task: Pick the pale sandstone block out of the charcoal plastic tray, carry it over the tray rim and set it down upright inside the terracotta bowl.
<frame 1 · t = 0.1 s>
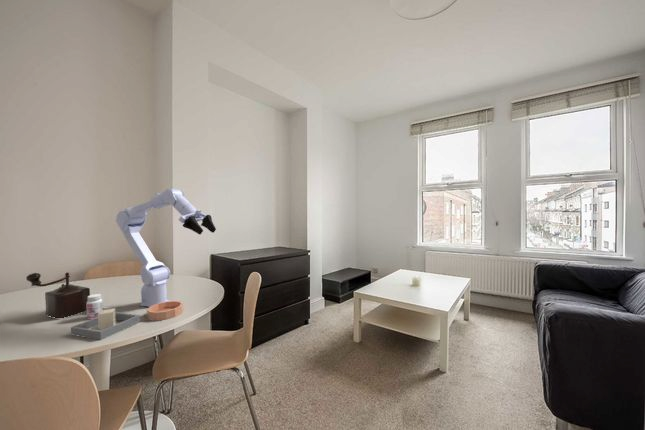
hand: (208, 231, 107), 32 cm above the table, tool tilted 50°, fingers open, 7 cm apart
bowl: (165, 313, 105), on the table
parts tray: (107, 327, 93), on the table
sandstone block: (107, 328, 93), resting in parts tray
pill bottle: (95, 317, 103), on the table
manual coffee grinder: (60, 315, 106), on the table
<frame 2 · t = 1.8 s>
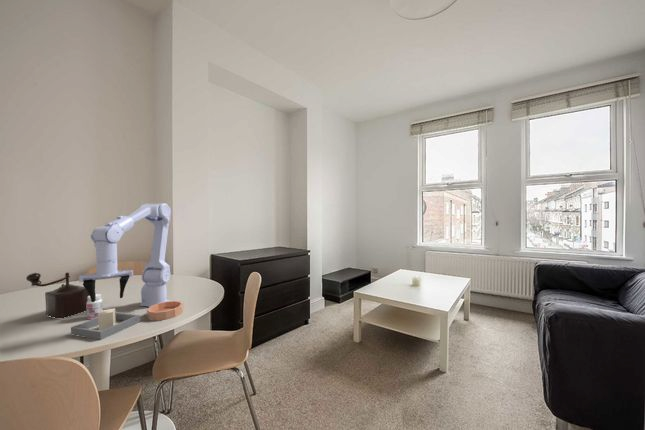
hand: (107, 299, 92), 10 cm above the table, tool pointing down, fingers open, 7 cm apart
nothing on the table moved.
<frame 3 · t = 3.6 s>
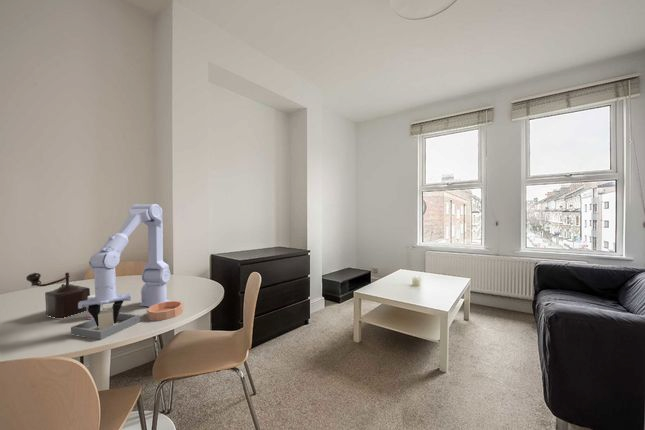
hand: (107, 324, 93), 1 cm above the table, tool pointing down, fingers closed on sandstone block, 4 cm apart
sandstone block: (107, 328, 93), resting in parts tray, touching gripper
everything else where it was.
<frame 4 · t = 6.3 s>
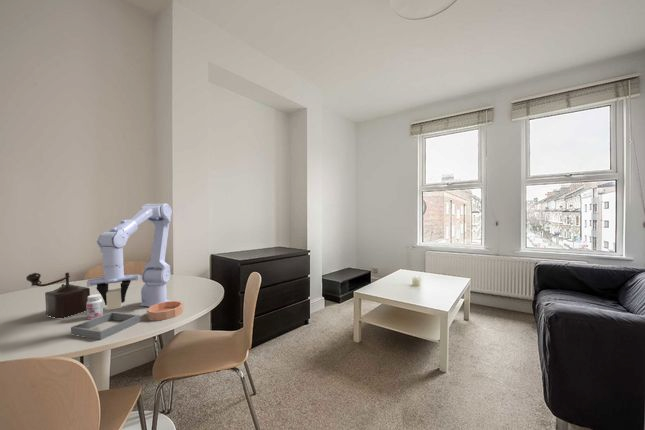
hand: (115, 302, 95), 8 cm above the table, tool pointing down, fingers closed on sandstone block, 4 cm apart
sandstone block: (115, 306, 95), point 7 cm above the table, touching gripper
everything else where it was.
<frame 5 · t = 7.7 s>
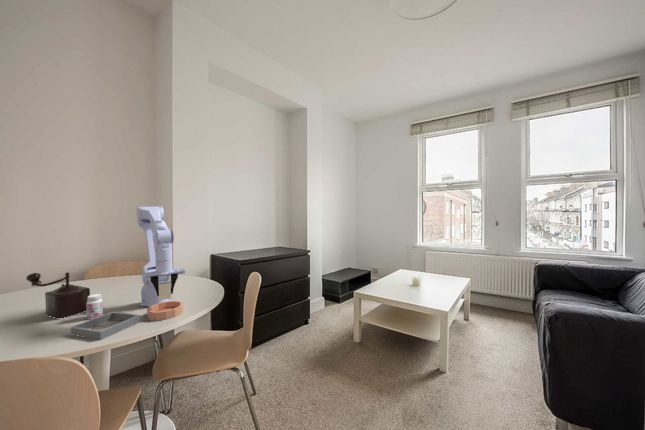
hand: (165, 294, 105), 8 cm above the table, tool pointing down, fingers closed on sandstone block, 4 cm apart
sandstone block: (165, 297, 105), point 6 cm above the table, touching gripper
everything else where it was.
when the fingers open (4 cm above the table, at t = 9.0 s): sandstone block drops 1 cm, resting on bowl.
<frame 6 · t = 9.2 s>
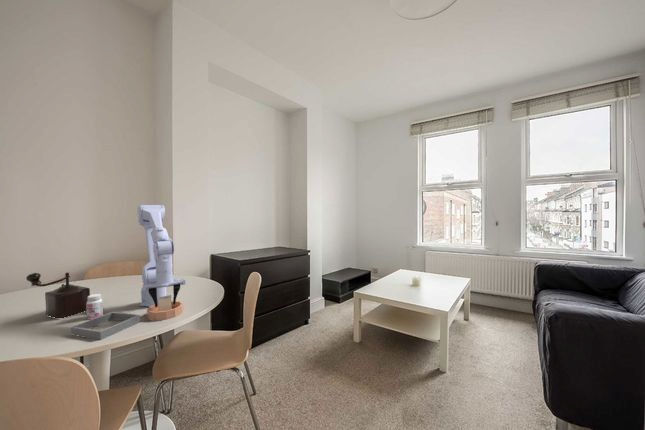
hand: (165, 305, 105), 4 cm above the table, tool pointing down, fingers open, 5 cm apart
sandstone block: (165, 312, 105), point 1 cm above the table, touching bowl
everything else where it was.
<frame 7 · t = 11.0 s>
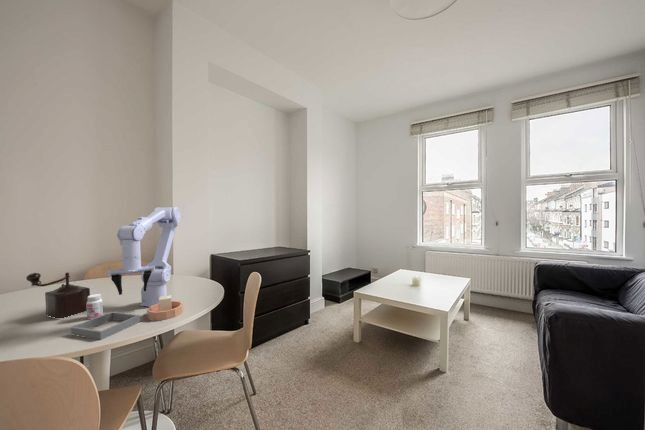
hand: (133, 292, 101), 10 cm above the table, tool pointing down, fingers open, 7 cm apart
nothing on the table moved.
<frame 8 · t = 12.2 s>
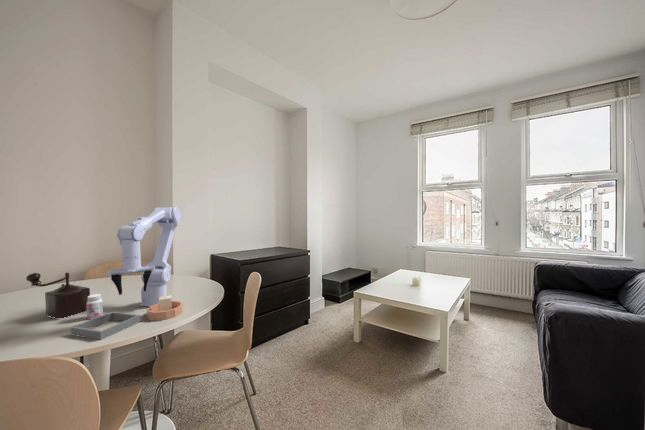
hand: (133, 292, 101), 10 cm above the table, tool pointing down, fingers open, 7 cm apart
nothing on the table moved.
at the end: sandstone block inside the target area on the bowl (0.1 cm from its centre), point 0.6 cm above the bowl's base; sandstone block tilted 0°; the gripper is holding nothing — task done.
